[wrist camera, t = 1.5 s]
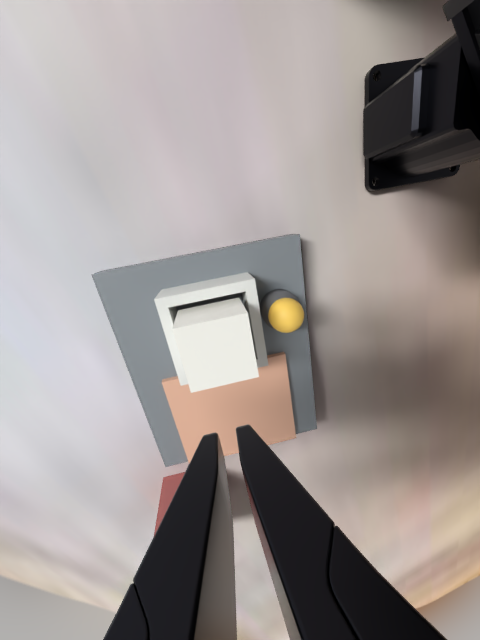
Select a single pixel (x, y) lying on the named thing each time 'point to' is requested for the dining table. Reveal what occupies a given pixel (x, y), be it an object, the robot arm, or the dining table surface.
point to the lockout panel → (267, 333)
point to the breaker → (215, 344)
